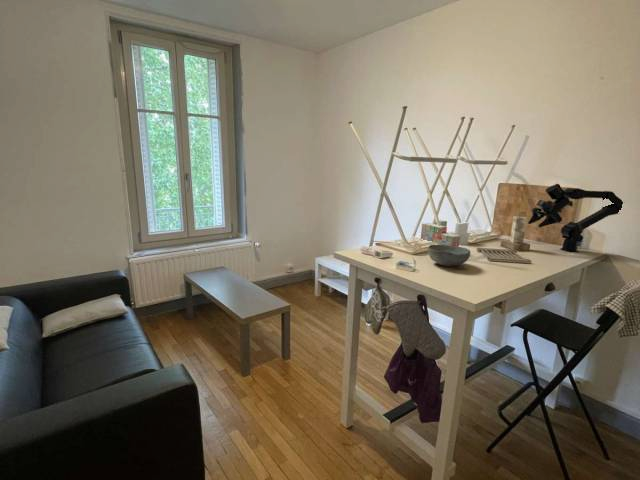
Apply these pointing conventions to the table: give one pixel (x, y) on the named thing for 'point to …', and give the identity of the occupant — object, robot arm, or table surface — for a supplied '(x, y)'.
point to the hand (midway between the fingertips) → (533, 225)
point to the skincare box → (441, 223)
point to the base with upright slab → (462, 232)
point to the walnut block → (515, 245)
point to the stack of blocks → (439, 235)
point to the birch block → (518, 229)
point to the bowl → (448, 254)
